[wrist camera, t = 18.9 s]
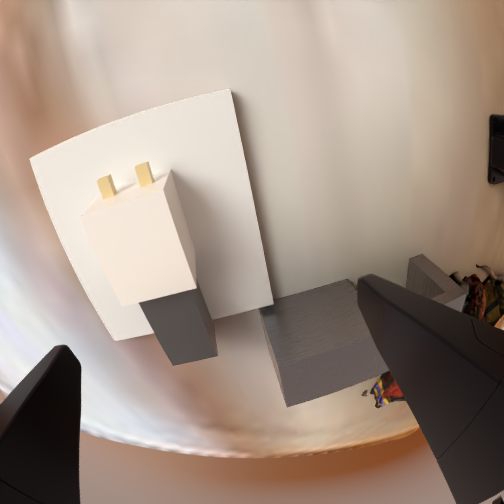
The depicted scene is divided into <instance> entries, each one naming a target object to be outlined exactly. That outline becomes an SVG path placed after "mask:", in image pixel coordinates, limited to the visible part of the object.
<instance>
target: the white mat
mask: <svg viewBox="0 0 504 504" xmlns="http://www.w3.org/2000/svg"><path fill="white" fill-rule="evenodd" d="M147 161H149V165H150V168H151V171H152V174H155V173H159V172H162V171H165V170H169V169H171V172H172V175H173V179H174V182H175V185H176V189H177V192H178V196H179V199H180V202H181V205H182V209H183V212H184V215H185V218H186V222H187V225H188V228H189V231H190V234H191V237H192V241H193V244H194V247H195V254H196V278H197V281H198V283H199V286H200V289H201V292H202V294H203V297H204V300H205V303H206V305H207V308H208V311H209V313H210V316H211V319H212V320H214V319H218V318H222V317H226V316H230V315H234V314H238V313H242V312H246V311H250V310H253V309H257V308H261V307H265V306H268V305H272V304H274V303H273V298H272V292H271V287H270V282H269V277H268V272H267V267H266V261H265V256H264V251H263V246H262V241H261V236H260V231H259V226H258V221H257V216H256V211H255V206H254V201H253V196H252V191H251V186H250V181H249V176H248V171H247V167H246V162H245V157H244V152H243V147H242V142H241V137H240V133H239V128H238V123H237V118H236V114H235V109H234V104H233V99H232V95H231V90H230V89H225V90H220V91H215V92H211V93H207V94H202V95H198V96H194V97H190V98H186V99H182V100H179V101H175V102H171V103H168V104H164V105H161V106H158V107H154V108H151V109H148V110H145V111H142V112H138V113H135V114H132V115H130V116H127V117H124V118H121V119H118V120H115V121H113V122H110V123H107V124H105V125H102V126H100V127H97V128H95V129H92V130H90V131H87V132H85V133H82V134H80V135H78V136H75V137H73V138H71V139H69V140H66V141H64V142H62V143H60V144H58V145H56V146H53V147H51V148H49V149H47V150H45V151H43V152H41V153H39V154H37V155H35V156H33V157H31V158H30V162H31V165H32V168H33V171H34V174H35V177H36V180H37V183H38V186H39V189H40V192H41V194H42V197H43V200H44V202H45V205H46V208H47V210H48V213H49V215H50V218H51V220H52V222H53V225H54V227H55V230H56V232H57V234H58V236H59V239H60V241H61V243H62V245H63V248H64V250H65V252H66V254H67V256H68V258H69V260H70V262H71V264H72V266H73V268H74V270H75V272H76V274H77V276H78V278H79V280H80V282H81V284H82V286H83V288H84V290H85V292H86V293H87V295H88V297H89V299H90V301H91V302H92V304H93V306H94V308H95V309H96V311H97V313H98V315H99V316H100V318H101V320H102V321H103V323H104V325H105V326H106V328H107V330H108V331H109V333H110V334H111V336H112V338H113V339H114V341H118V340H123V339H128V338H133V337H138V336H143V335H148V334H152V333H154V331H153V330H152V328H151V326H150V324H149V322H148V320H147V318H146V317H145V315H144V313H143V311H142V309H141V307H140V305H139V303H135V304H131V305H127V306H123V307H122V306H121V304H120V302H119V300H118V298H117V296H116V294H115V292H114V290H113V289H112V287H111V285H110V283H109V281H108V279H107V277H106V275H105V273H104V270H103V268H102V266H101V264H100V262H99V260H98V258H97V256H96V253H95V251H94V249H93V247H92V245H91V242H90V240H89V238H88V235H87V233H86V231H85V228H84V226H83V224H82V221H81V219H80V216H81V215H82V214H83V213H84V212H85V211H86V210H87V208H88V207H89V206H90V205H91V204H92V203H93V202H94V201H95V200H96V199H97V197H98V196H99V195H100V194H101V192H100V189H99V186H98V183H97V180H98V179H99V178H101V177H104V176H106V175H109V174H111V176H112V179H113V182H114V185H115V187H116V186H119V185H122V184H125V183H127V182H130V181H133V180H137V179H138V177H137V174H136V171H135V168H134V167H135V166H136V165H138V164H141V163H144V162H147Z"/></svg>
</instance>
